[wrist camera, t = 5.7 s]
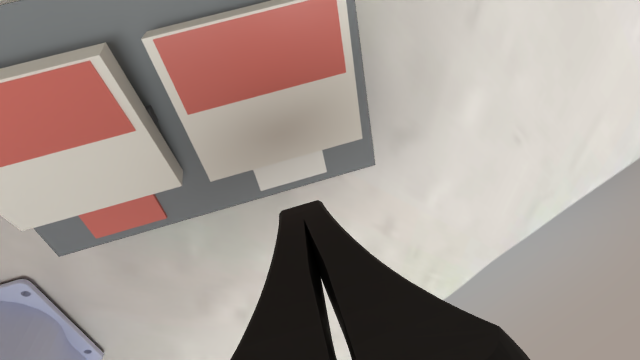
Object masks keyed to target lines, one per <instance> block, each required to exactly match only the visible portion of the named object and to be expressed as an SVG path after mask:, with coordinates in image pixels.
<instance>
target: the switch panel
mask: <svg viewBox="0 0 640 360" xmlns="http://www.w3.org/2000/svg"><path fill="white" fill-rule="evenodd" d="M267 1H271V0H20V1H16V2H12V3H8V4H3V5H0V69H1V68H5V67H9V66H13V65H17V64H21V63H25V62H29V61H33V60H37V59H41V58H45V57H49V56H53V55H57V54H61V53H65V52H69V51H73V50H77V49H81V48H85V47H89V46H93V45H97V44H101V43H105V42H106V44H107V45H108V47H109V49H110V50H111V52H112V54H113V55H114V57H115V59H116V60H117V62H118V64H119V65H120V67H121V69H122V70H123V72H124V74H125V75H126V77H127V79H128V80H129V82H130V84H131V85H132V87H133V89H134V90H135V92H136V94H137V95H138V97H139V99H140V100H141V102H142V104H143V105H144V107H145V108H146V110H147V112H148V113H149V115H150V117H151V118H152V120H153V122H154V123H155V125H156V127H157V128H158V130H159V132H160V133H161V135H162V137H163V138H164V140H165V142H166V143H167V145H168V147H169V148H170V150H171V152H172V153H173V155H174V157H175V158H176V160H177V162H178V163H179V165H180V167H181V168H182V170H183V179H182V186H180V187H177V188H173V189H170V190H166V191H163V192H159V193H156V194H152V195H149V196H145V197H141V198H138V199H134V200H131V201H127V202H124V203H120V204H117V205H113V206H110V207H106V208H103V209H99V210H96V211H92V212H88V213H85V214H81V215H78V216H74V217H71V218H67V219H64V220H60V221H57V222H53V223H50V224H46V225H43V226H39V227H35V228H34V229H35V231H36V232H37V233H38V234H39V235H40V236H41V237H42V238H43V239H44V241H45V242H46V243H47V244H48V245H49V246H50V247H51V248H52V249H53V251H54V252H55V253H56V254H57V255H58V256H59V257H60V256H63V255H66V254H70V253H73V252H77V251H80V250H84V249H87V248H91V247H94V246H97V245H101V244H104V243H108V242H111V241H115V240H118V239H122V238H125V237H128V236H132V235H135V234H139V233H142V232H146V231H149V230H153V229H156V228H159V227H163V226H166V225H170V224H173V223H177V222H180V221H184V220H187V219H190V218H194V217H197V216H201V215H204V214H208V213H211V212H215V211H218V210H221V209H225V208H228V207H232V206H235V205H239V204H242V203H246V202H249V201H252V200H256V199H259V198H263V197H266V196H270V195H273V194H277V193H280V192H283V191H287V190H290V189H294V188H297V187H301V186H304V185H308V184H311V183H314V182H318V181H321V180H325V179H328V178H332V177H335V176H339V175H342V174H345V173H349V172H352V171H356V170H359V169H363V168H366V167H370V166H373V165H375V159H374V151H373V143H372V135H371V127H370V119H369V111H368V103H367V95H366V87H365V79H364V71H363V62H362V54H361V46H360V38H359V30H358V22H357V14H356V6H355V0H346V4H347V12H348V21H349V29H350V37H351V46H352V54H353V63H354V71H355V80H356V88H357V96H358V105H359V113H360V122H361V130H362V138H363V139H360V140H356V141H353V142H349V143H345V144H342V145H338V146H335V147H331V148H328V149H324V150H321V151H317V152H314V153H310V154H307V155H303V156H300V157H296V158H293V159H289V160H286V161H282V162H279V163H275V164H272V165H268V166H264V167H261V168H257V169H254V170H250V171H247V172H243V173H240V174H236V175H233V176H229V177H226V178H222V179H219V180H215V181H212V182H210V179H209V177H208V175H207V173H206V171H205V169H204V167H203V165H202V163H201V161H200V159H199V157H198V155H197V153H196V151H195V149H194V147H193V145H192V143H191V141H190V139H189V136H188V134H187V132H186V130H185V128H184V126H183V124H182V122H181V120H180V118H179V116H178V114H177V112H176V110H175V108H174V106H173V104H172V102H171V100H170V98H169V95H168V93H167V91H166V89H165V87H164V85H163V83H162V81H161V79H160V77H159V75H158V73H157V71H156V69H155V67H154V65H153V63H152V61H151V59H150V57H149V55H148V52H147V50H146V48H145V46H144V44H143V42H142V40H141V39H142V37H143V36H144V34H145V33H146V31H150V30H154V29H158V28H162V27H166V26H170V25H174V24H178V23H182V22H186V21H190V20H194V19H198V18H202V17H206V16H210V15H214V14H218V13H223V12H227V11H231V10H235V9H239V8H243V7H247V6H251V5H255V4H259V3H263V2H267Z"/></svg>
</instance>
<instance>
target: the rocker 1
mask: <svg viewBox="0 0 640 360" xmlns="http://www.w3.org/2000/svg"><path fill="white" fill-rule="evenodd" d="M182 179H183V170H182V168H181V167H180V165H179V163H178V162H177V160H176V158H175V157H174V155H173V153H172V152H171V150H170V148H169V147H168V145H167V143H166V142H165V140H164V138H163V137H162V135H161V133H160V132H159V130H158V128H157V127H156V125H155V123H154V122H153V120H152V118H151V117H150V115H149V113H148V112H147V110H146V108H145V107H144V105H143V104H142V102H141V100H140V99H139V97H138V95H137V94H136V92H135V90H134V89H133V87H132V85H131V84H130V82H129V80H128V79H127V77H126V75H125V74H124V72H123V70H122V69H121V67H120V65H119V64H118V62H117V60H116V59H115V57H114V55H113V54H112V52H111V50H110V49H109V47H108V45H107V44H106V42H105V43H101V44H97V45H93V46H89V47H85V48H81V49H77V50H73V51H69V52H65V53H61V54H57V55H53V56H49V57H45V58H41V59H37V60H33V61H29V62H25V63H21V64H17V65H13V66H9V67H5V68H1V69H0V215H1V216H2V217H3V218H4V219H6V220H7V221H8V222H10V223H11V224H12V225H13V226H15V227H16V228H17V229H19V230H20V231H25V230H28V229H32V228H35V227H39V226H43V225H46V224H50V223H53V222H57V221H60V220H64V219H67V218H71V217H74V216H78V215H81V214H85V213H88V212H92V211H96V210H99V209H103V208H106V207H110V206H113V205H117V204H120V203H124V202H127V201H131V200H134V199H138V198H141V197H145V196H149V195H152V194H156V193H159V192H163V191H166V190H170V189H173V188H177V187H180V186H182Z"/></svg>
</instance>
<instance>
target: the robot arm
mask: <svg viewBox="0 0 640 360" xmlns="http://www.w3.org/2000/svg"><path fill="white" fill-rule="evenodd" d="M321 279H322V281H323V284H324V286H325V289H326V291H327V294H328V297H329V299H330V302H331V304H332V307H333V309H334V312H335V314H336V317H337V319H338V322H339V324H340V327H341V329H342V332H343V334H344V337H345V340H346V342H347V345H348V348H349V351H350V355H351V358H352V360H530V359H529V358H528V356H527V355H526V354H525V353H524V352H523V350H522V349H521V348H520V347H519V346H518V345H517V344H516V343H515V342H514V341H513V340H512V339H511V338H510V337H509V336H508V335H507V334H506V333H505V332H504V331H503V330H502V329H501V328H500V327H499V326H497V325H495V324H492V323H490V322H488V321H485V320H483V319H481V318H478V317H476V316H474V315H472V314H469V313H467V312H465V311H463V310H461V309H459V308H457V307H455V306H453V305H451V304H449V303H447V302H445V301H443V300H441V299H439V298H437V297H436V296H434V295H432V294H430V293H429V292H427V291H425V290H424V289H422V288H420V287H418V286H417V285H415V284H413V283H411V282H410V281H408V280H407V279H405V278H404V277H402V276H401V275H399V274H398V273H396V272H395V271H393V270H392V269H390V268H389V267H387V266H386V265H385V264H383V263H382V262H381V261H379V260H378V259H377V258H375V257H374V256H373V255H372V254H370V253H369V252H368V251H367V250H366V249H365V248H363V247H362V246H361V245H360V244H359V243H358V242H357V241H356V240H354V239H353V238H352V237H351V236H350V235H349V234H348V233H347V232H346V231H345V230H344V229H343V228H342V227H341V226H340V225H339V224H338V223H337V221H336V220H335V219H334V218H333V217H332V216H331V214H330V213H329V212H328V211H327V209H326V208H325V207H324V205H323V203H322V202H321V201H319V200H317V201H313V202H310V203H307V204H303V205H300V206H296V207H293V208H290V209H286V210H283V211H281V213H280V214H279V228H278V235H277V240H276V245H275V249H274V254H273V258H272V262H271V265H270V269H269V272H268V275H267V279H266V282H265V285H264V288H263V291H262V293H261V296H260V299H259V301H258V304H257V306H256V309H255V311H254V313H253V316H252V318H251V320H250V322H249V324H248V327H247V329H246V331H245V333H244V335H243V337H242V339H241V341H240V343H239V345H238V347H237V349H236V351H235V352H234V354H233V356H232V358H231V360H337V359H336V355H335V351H334V347H333V342H332V337H331V332H330V326H329V321H328V315H327V310H326V304H325V298H324V293H323V287H322V282H321ZM27 291H28V292H27ZM103 356H104V353H103V352H102V351H101V350H100V349H99V348H98V347H97V346H96V345H95V344H94V343H93V342H92V341H91V340H90V339H89V338H88V337H87V336H86V335H85V334H84V333H83V332H82V331H81V330H80V329H79V328H77V327H76V326H75V325H74V324H73V323H72V322H71V321H70V320H69V319H68V318H67V317H66V316H65V315H64V314H63V313H62V312H61V311H60V310H59V309H58V308H57V307H56V306H55V305H54V304H53V303H52V302H51V301H50V300H49V299H48V298H47V297H46V296H45V295H44V294H43V293H42V292H41V291H39V290H38V289H37V288H36V287H35V286H34V285H33V284H32V283H31V282H30V281H28V280H26V279H19V280H15V281H12V282H8V283H5V284H1V285H0V360H102V359H103Z"/></svg>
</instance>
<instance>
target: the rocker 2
mask: <svg viewBox="0 0 640 360" xmlns="http://www.w3.org/2000/svg"><path fill="white" fill-rule="evenodd" d="M141 40H142V42H143V44H144V46H145V48H146V50H147V52H148V55H149V57H150V59H151V61H152V63H153V65H154V67H155V69H156V71H157V73H158V75H159V77H160V79H161V81H162V83H163V85H164V87H165V89H166V91H167V93H168V95H169V98H170V100H171V102H172V104H173V106H174V108H175V110H176V112H177V114H178V116H179V118H180V120H181V122H182V124H183V126H184V128H185V130H186V132H187V134H188V136H189V139H190V141H191V143H192V145H193V147H194V149H195V151H196V153H197V155H198V157H199V159H200V161H201V163H202V165H203V167H204V169H205V171H206V173H207V175H208V177H209V179H210V182H212V181H215V180H219V179H222V178H226V177H229V176H233V175H236V174H240V173H243V172H247V171H250V170H254V169H257V168H261V167H264V166H268V165H272V164H275V163H279V162H282V161H286V160H289V159H293V158H296V157H300V156H303V155H307V154H310V153H314V152H317V151H321V150H324V149H328V148H331V147H335V146H338V145H342V144H345V143H349V142H353V141H356V140H360V139H363V138H362V130H361V122H360V113H359V105H358V96H357V88H356V80H355V71H354V63H353V54H352V46H351V37H350V29H349V21H348V12H347V4H346V0H271V1H267V2H263V3H259V4H255V5H251V6H247V7H243V8H239V9H235V10H231V11H227V12H223V13H218V14H214V15H210V16H206V17H202V18H198V19H194V20H190V21H186V22H182V23H178V24H174V25H170V26H166V27H162V28H158V29H154V30H150V31H146V33H145V34H144V36H143V37H142V39H141Z"/></svg>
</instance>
